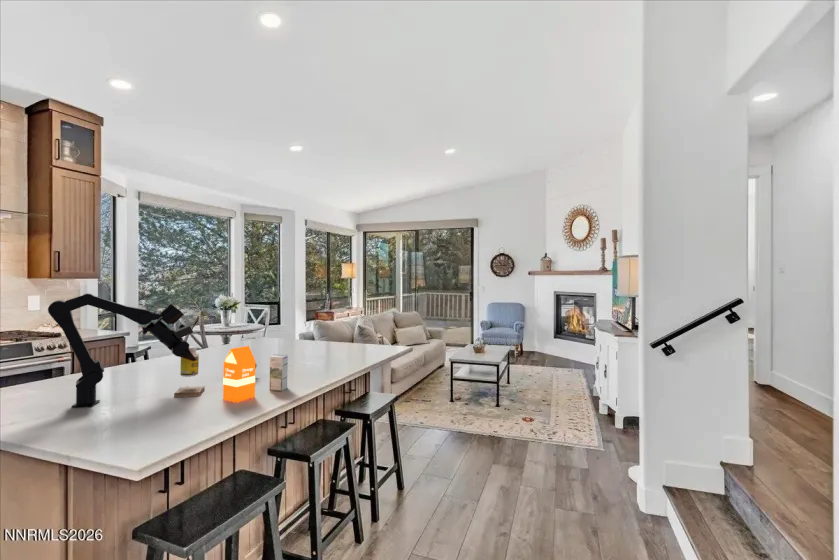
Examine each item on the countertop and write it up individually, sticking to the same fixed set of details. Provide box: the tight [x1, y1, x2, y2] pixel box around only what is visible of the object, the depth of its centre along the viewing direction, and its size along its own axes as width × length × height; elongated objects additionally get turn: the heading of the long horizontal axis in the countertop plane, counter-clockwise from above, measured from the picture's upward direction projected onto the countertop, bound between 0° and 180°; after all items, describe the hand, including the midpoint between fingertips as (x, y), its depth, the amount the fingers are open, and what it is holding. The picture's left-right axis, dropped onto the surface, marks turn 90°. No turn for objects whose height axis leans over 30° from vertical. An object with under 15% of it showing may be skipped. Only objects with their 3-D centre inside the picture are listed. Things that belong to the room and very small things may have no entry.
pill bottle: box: [180, 345, 200, 378], centre depth 176 cm, size 6×6×12 cm
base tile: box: [173, 385, 205, 398], centre depth 173 cm, size 9×9×2 cm
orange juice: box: [222, 345, 256, 403], centre depth 168 cm, size 8×9×20 cm
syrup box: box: [269, 353, 289, 392], centre depth 182 cm, size 6×6×14 cm
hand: (193, 358), depth 177 cm, fingers closed on pill bottle, 6 cm apart
